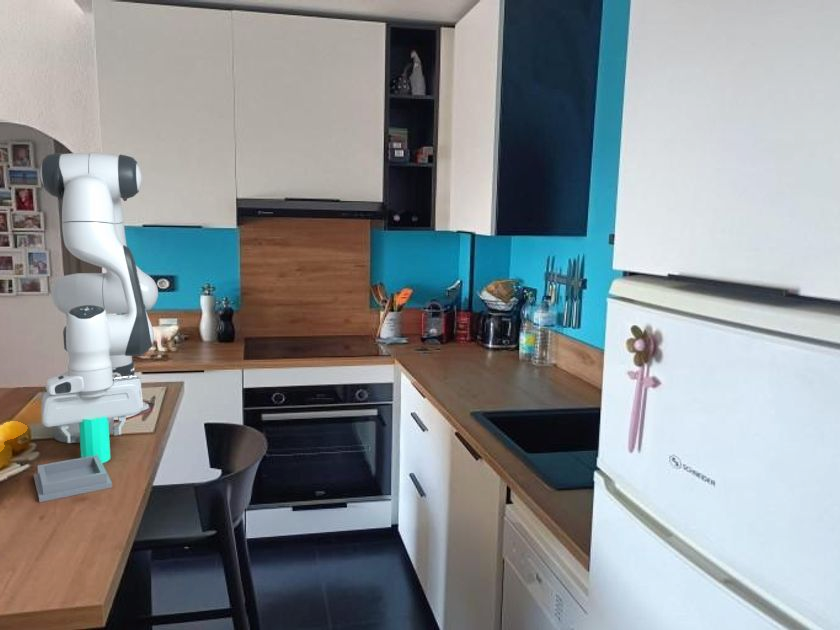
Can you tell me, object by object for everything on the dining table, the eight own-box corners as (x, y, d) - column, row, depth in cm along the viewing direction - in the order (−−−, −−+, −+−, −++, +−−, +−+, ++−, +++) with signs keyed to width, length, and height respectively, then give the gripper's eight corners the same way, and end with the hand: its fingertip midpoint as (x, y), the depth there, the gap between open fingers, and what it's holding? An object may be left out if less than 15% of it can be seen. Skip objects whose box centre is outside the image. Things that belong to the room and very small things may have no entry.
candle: (98, 466, 144) (95, 414, 142) (75, 463, 146) (71, 412, 144) (116, 456, 150) (113, 406, 148) (93, 453, 151) (90, 404, 149)
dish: (112, 442, 159) (111, 422, 158) (48, 448, 154) (46, 428, 153) (116, 423, 173) (115, 405, 172) (56, 428, 167) (55, 410, 167)
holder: (34, 478, 137) (33, 465, 137) (101, 465, 145) (100, 453, 144) (39, 502, 127) (38, 487, 126) (112, 487, 134) (111, 473, 133)
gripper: (137, 370, 153) (140, 426, 155) (37, 381, 142) (42, 442, 144) (143, 376, 148) (146, 434, 150) (40, 388, 137) (45, 451, 139)
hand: (94, 438), depth 147 cm, fingers open, 8 cm apart
